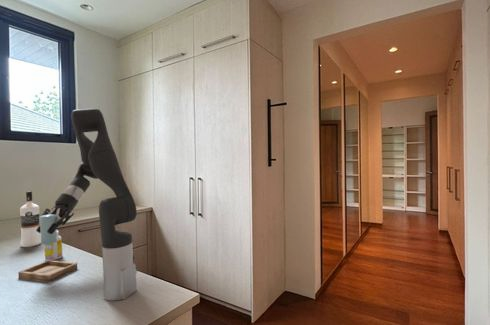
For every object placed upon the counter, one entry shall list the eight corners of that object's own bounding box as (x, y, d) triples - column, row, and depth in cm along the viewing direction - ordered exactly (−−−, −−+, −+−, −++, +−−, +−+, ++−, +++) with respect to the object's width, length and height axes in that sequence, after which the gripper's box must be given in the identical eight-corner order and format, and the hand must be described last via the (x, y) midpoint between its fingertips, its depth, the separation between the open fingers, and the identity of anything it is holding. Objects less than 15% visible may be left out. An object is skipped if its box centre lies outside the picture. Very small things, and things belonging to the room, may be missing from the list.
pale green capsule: (60, 240, 106) (58, 214, 106) (47, 245, 101) (46, 217, 101) (50, 239, 108) (49, 213, 107) (37, 244, 103) (36, 217, 102)
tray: (77, 268, 109) (77, 263, 109) (49, 282, 98) (49, 275, 98) (48, 265, 113) (48, 260, 113) (18, 278, 102) (18, 272, 102)
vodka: (44, 241, 149) (42, 189, 148) (38, 246, 141) (36, 191, 140) (24, 243, 145) (21, 191, 145) (17, 248, 137) (14, 193, 136)
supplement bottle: (61, 254, 126) (60, 228, 126) (63, 258, 122) (62, 231, 121) (44, 258, 122) (42, 232, 122) (46, 262, 117) (44, 234, 117)
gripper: (51, 192, 113) (23, 226, 102) (77, 193, 109) (50, 229, 98) (63, 201, 118) (37, 235, 107) (88, 203, 115) (64, 238, 103)
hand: (44, 232), depth 103 cm, fingers closed on pale green capsule, 5 cm apart
